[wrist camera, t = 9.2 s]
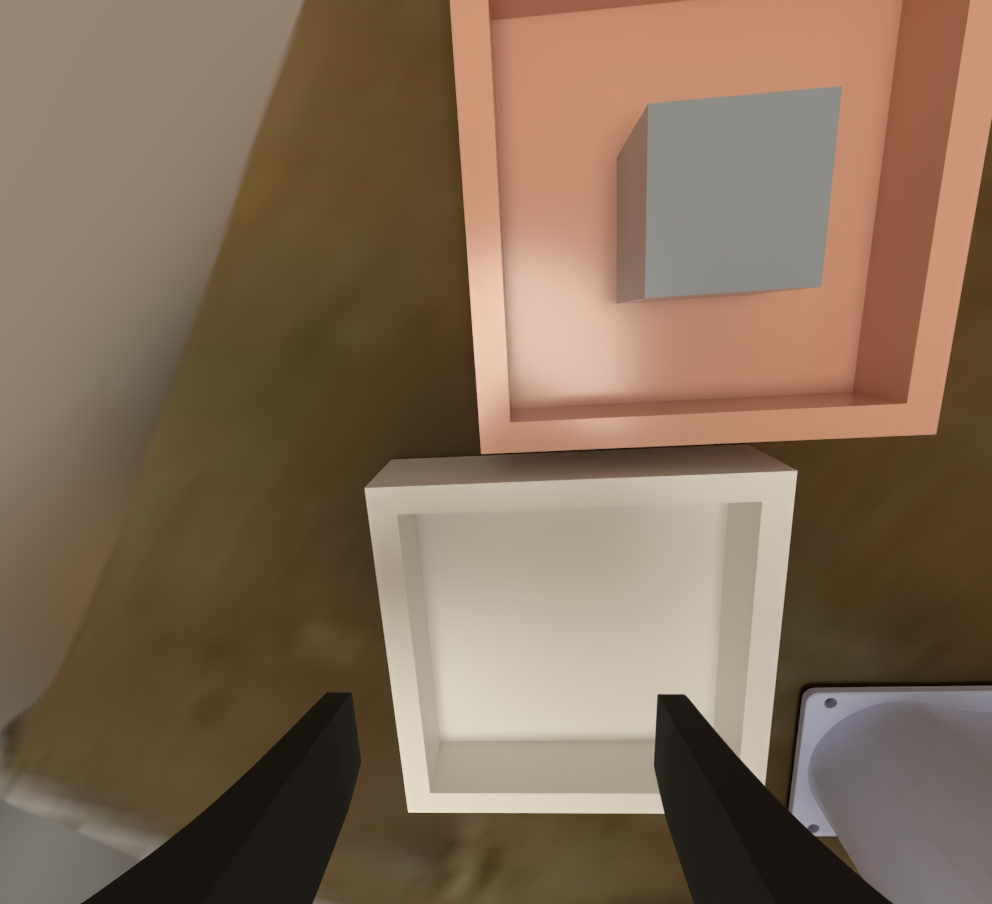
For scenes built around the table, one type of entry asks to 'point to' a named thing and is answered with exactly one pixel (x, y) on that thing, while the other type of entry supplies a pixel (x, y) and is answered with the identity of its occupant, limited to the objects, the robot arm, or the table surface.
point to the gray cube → (726, 196)
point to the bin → (719, 320)
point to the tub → (576, 617)
